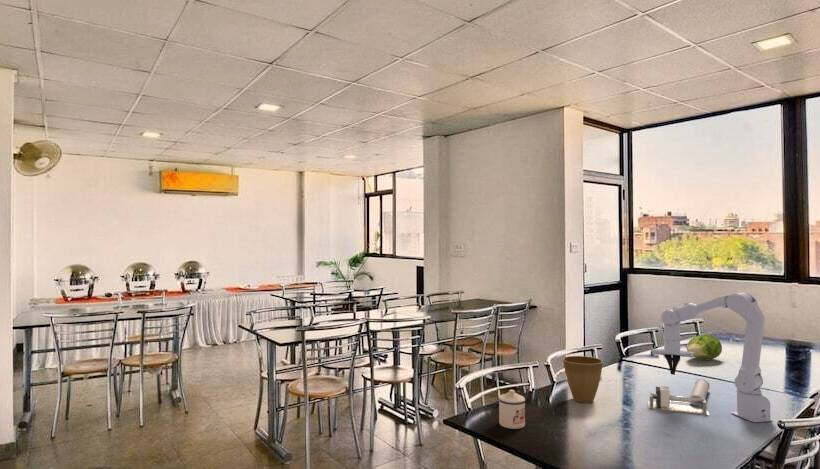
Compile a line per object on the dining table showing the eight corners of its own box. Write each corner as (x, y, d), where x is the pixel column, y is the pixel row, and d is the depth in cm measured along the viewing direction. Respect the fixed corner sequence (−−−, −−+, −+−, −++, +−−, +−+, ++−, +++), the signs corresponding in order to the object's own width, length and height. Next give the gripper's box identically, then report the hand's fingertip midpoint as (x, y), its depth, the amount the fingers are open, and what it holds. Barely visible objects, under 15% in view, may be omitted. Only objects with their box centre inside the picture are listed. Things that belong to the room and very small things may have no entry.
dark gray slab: (659, 402, 185) (659, 386, 185) (660, 407, 179) (660, 391, 180) (656, 402, 185) (655, 386, 186) (657, 406, 180) (656, 390, 180)
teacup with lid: (516, 431, 158) (516, 396, 158) (493, 424, 164) (493, 390, 164) (535, 422, 166) (534, 388, 166) (512, 415, 172) (512, 383, 173)
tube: (706, 398, 179) (711, 382, 200) (690, 391, 182) (697, 376, 203) (701, 411, 180) (707, 394, 201) (686, 404, 183) (693, 387, 204)
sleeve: (668, 402, 184) (668, 386, 184) (669, 407, 178) (669, 390, 179) (659, 401, 185) (659, 385, 185) (660, 406, 180) (660, 389, 180)
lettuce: (677, 361, 252) (676, 336, 253) (696, 355, 267) (695, 331, 267) (706, 366, 241) (706, 340, 241) (724, 360, 255) (724, 335, 256)
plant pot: (609, 399, 190) (608, 359, 191) (594, 408, 179) (593, 366, 180) (573, 391, 200) (572, 353, 201) (556, 400, 190) (556, 359, 190)
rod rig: (705, 408, 180) (705, 395, 180) (709, 415, 172) (709, 402, 172) (647, 401, 188) (647, 389, 188) (648, 408, 180) (648, 395, 180)
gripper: (691, 339, 192) (692, 373, 192) (651, 336, 198) (651, 369, 198) (694, 342, 186) (694, 377, 186) (652, 339, 192) (652, 373, 191)
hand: (672, 373), depth 191 cm, fingers closed
